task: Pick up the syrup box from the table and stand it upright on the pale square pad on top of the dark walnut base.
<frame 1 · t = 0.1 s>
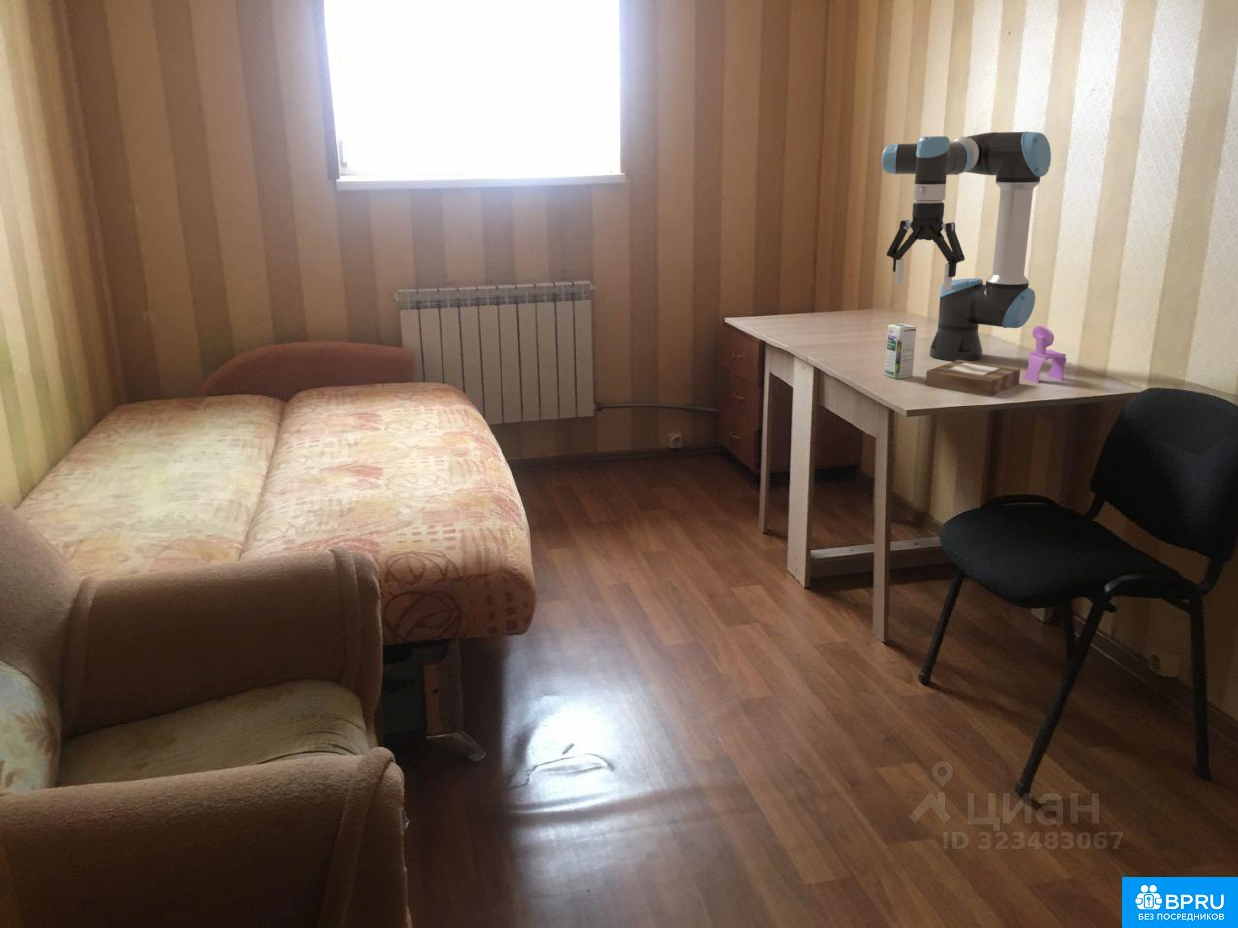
hand: (922, 287, 258), 28 cm above the table, tool pointing down, fingers open, 13 cm apart
walnut base: (972, 384, 275), on the table
syrup box: (898, 376, 286), on the table
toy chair: (1043, 380, 279), on the table
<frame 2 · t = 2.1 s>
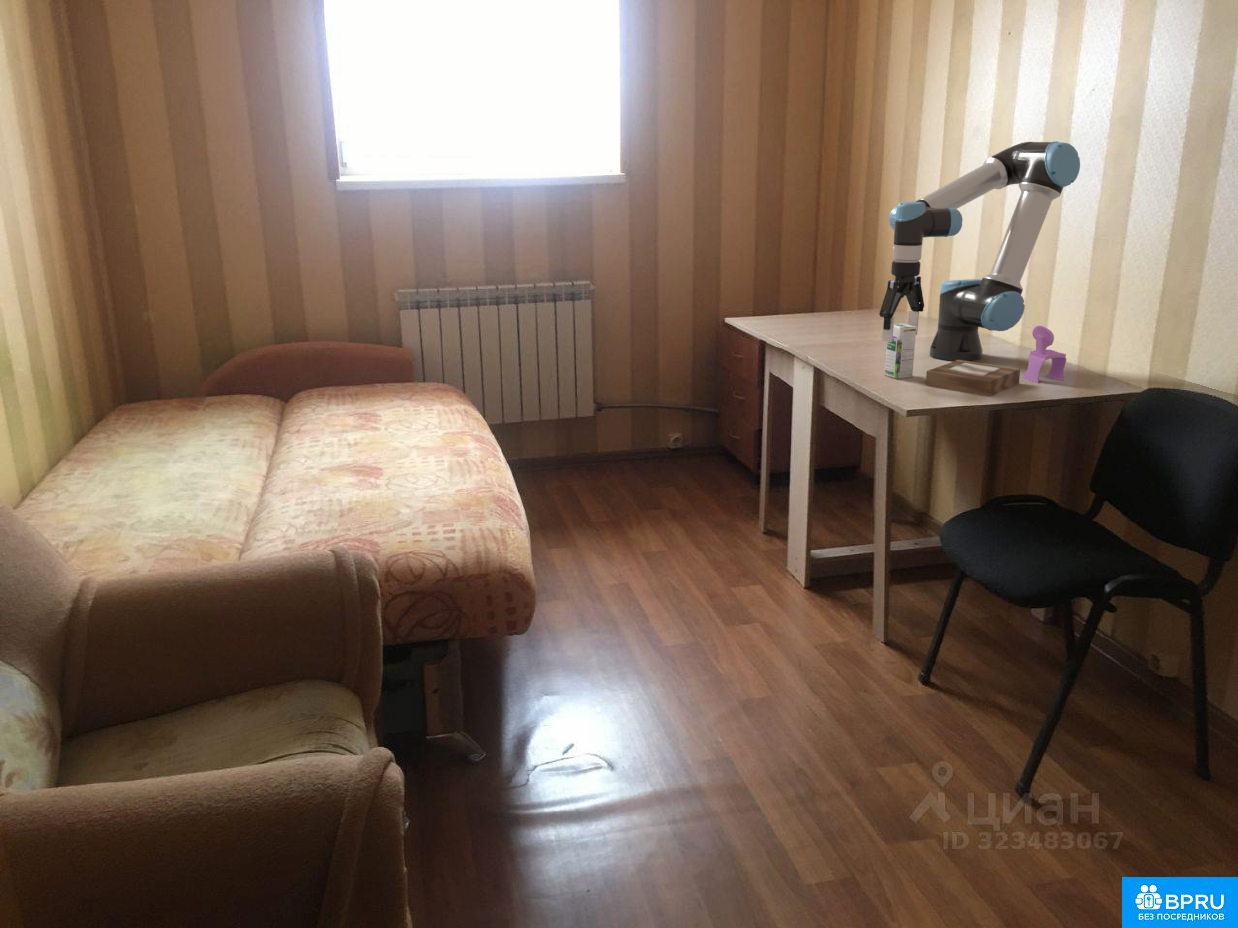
hand: (899, 338, 282), 11 cm above the table, tool pointing down, fingers open, 13 cm apart
nothing on the table moved.
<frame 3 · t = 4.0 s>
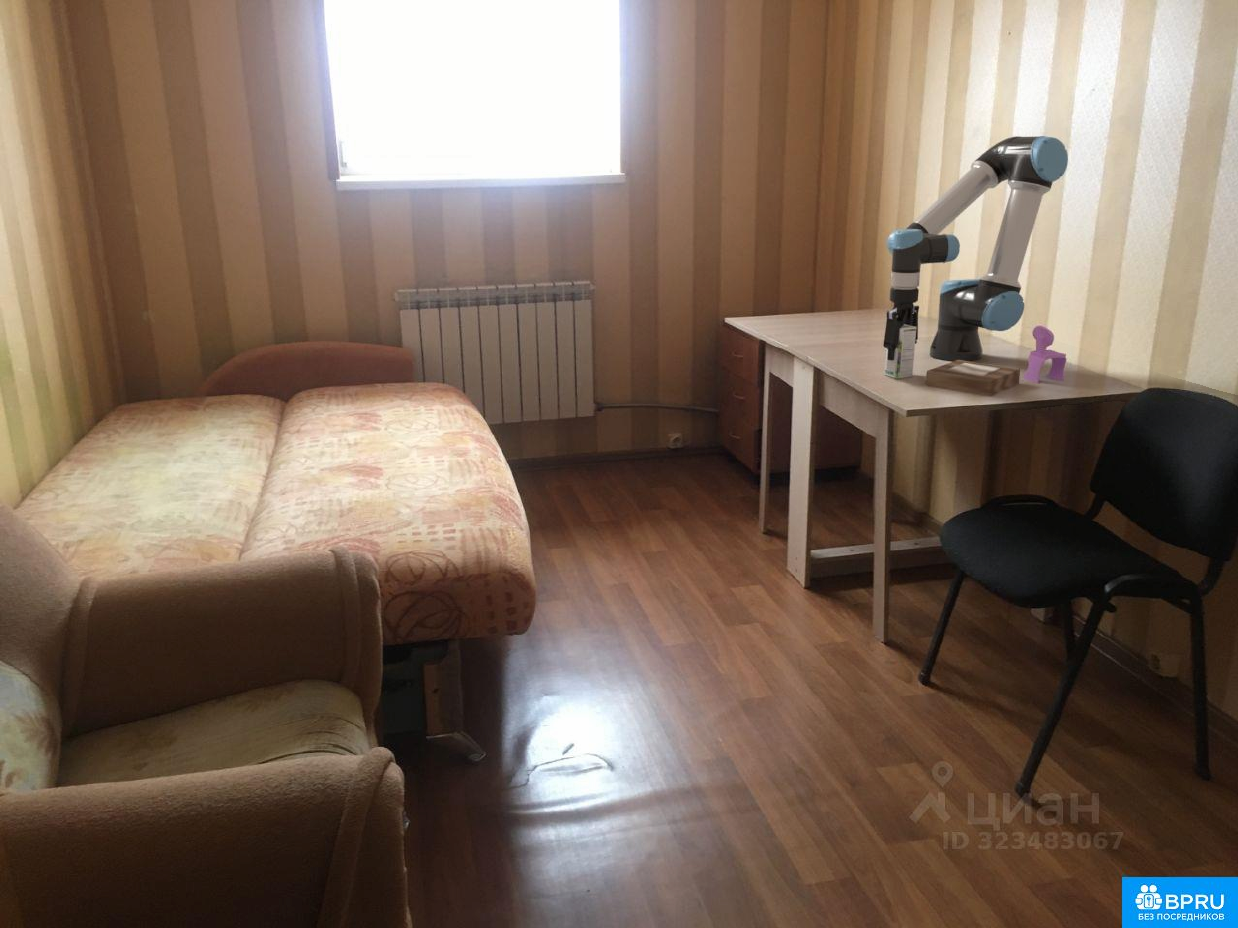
hand: (898, 368, 285), 2 cm above the table, tool pointing down, fingers closed on syrup box, 7 cm apart
syrup box: (898, 376, 286), on the table, touching gripper
everything else where it was.
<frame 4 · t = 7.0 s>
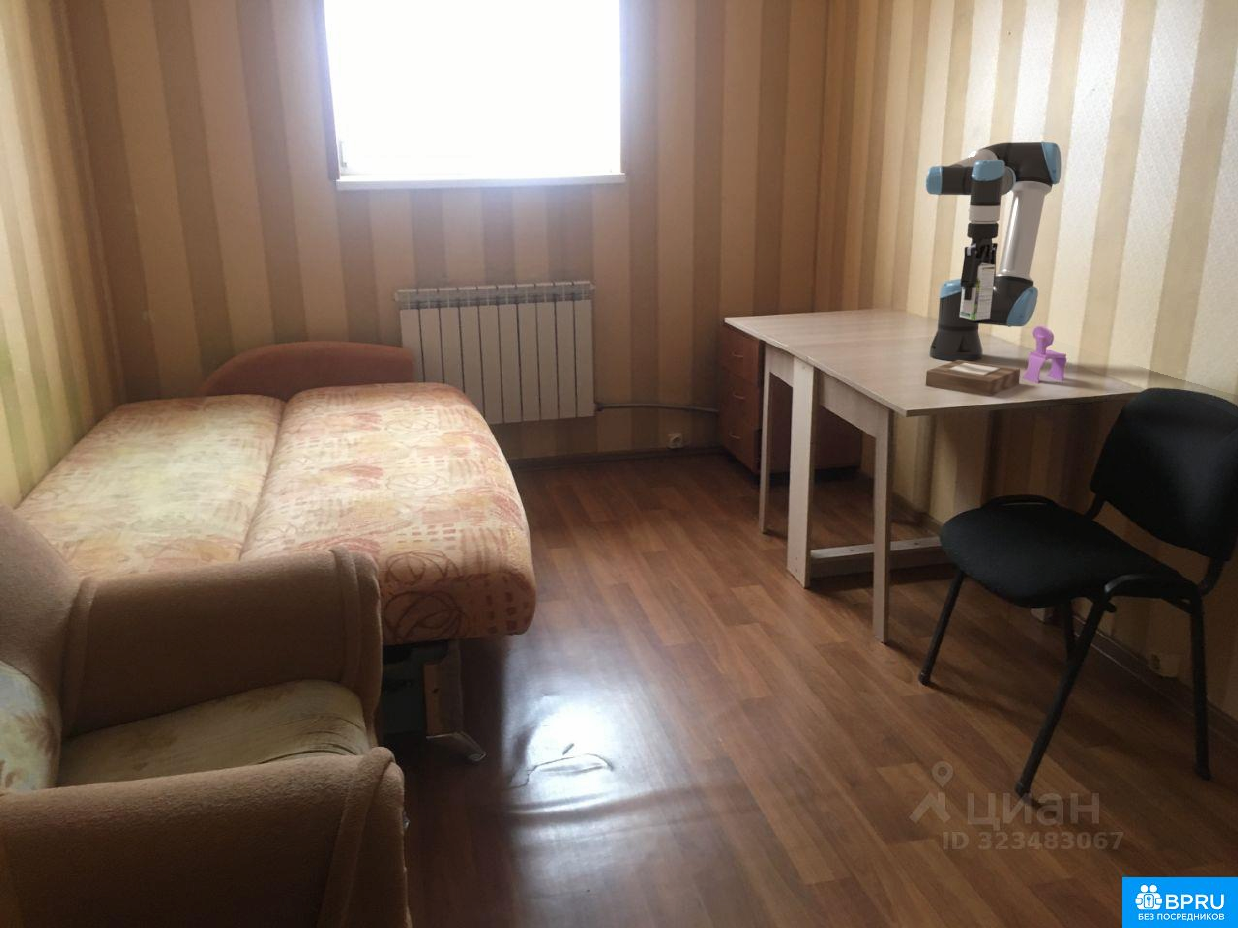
hand: (975, 310, 269), 20 cm above the table, tool pointing down, fingers closed on syrup box, 7 cm apart
syrup box: (974, 319, 270), point 18 cm above the table, touching gripper
everything else where it was.
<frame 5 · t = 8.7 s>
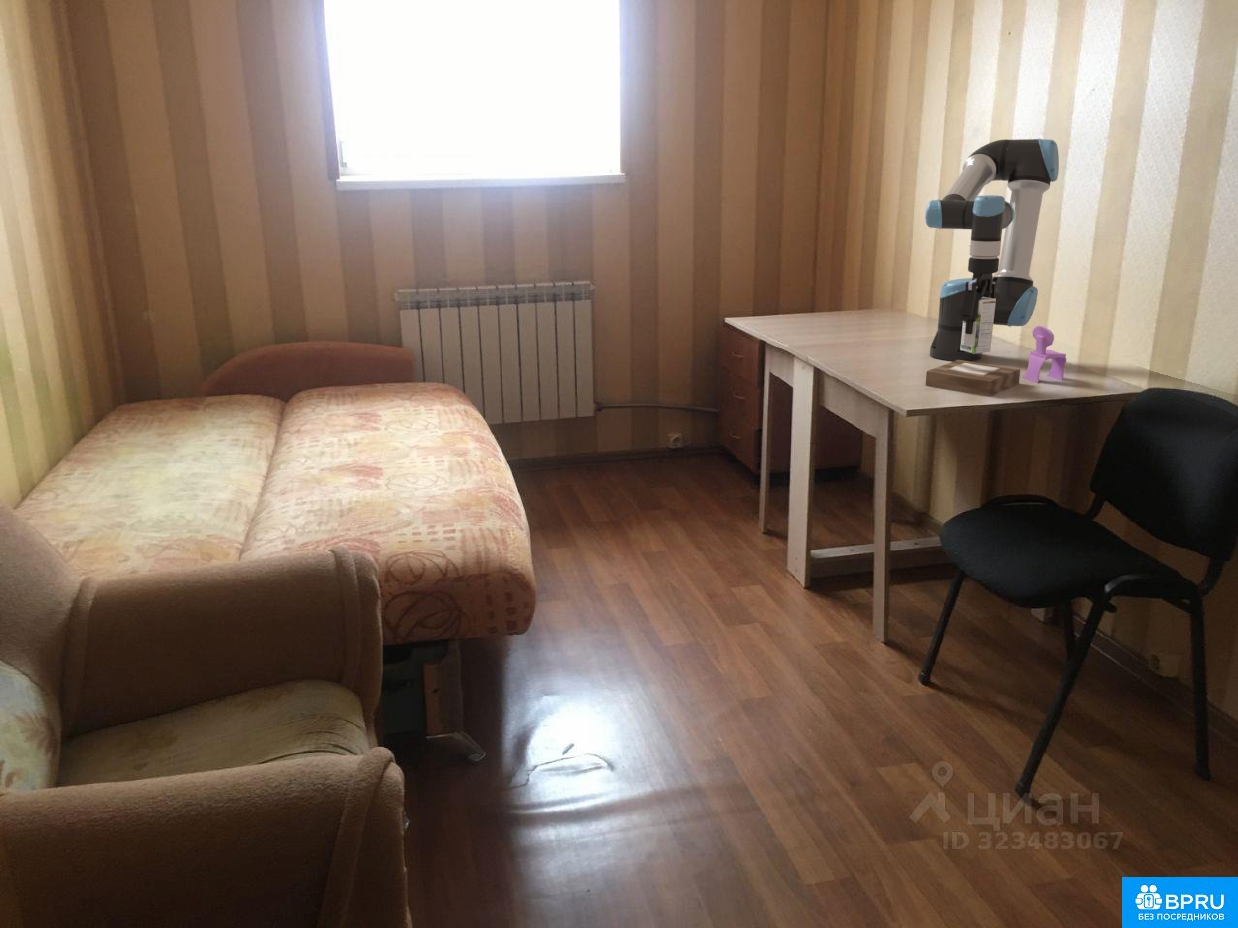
hand: (976, 343, 271), 11 cm above the table, tool pointing down, fingers closed on syrup box, 7 cm apart
syrup box: (975, 351, 272), point 9 cm above the table, touching gripper
everything else where it was.
when the fingers open (8 cm above the table, at t = 10.1 s): syrup box drops 1 cm, resting on walnut base.
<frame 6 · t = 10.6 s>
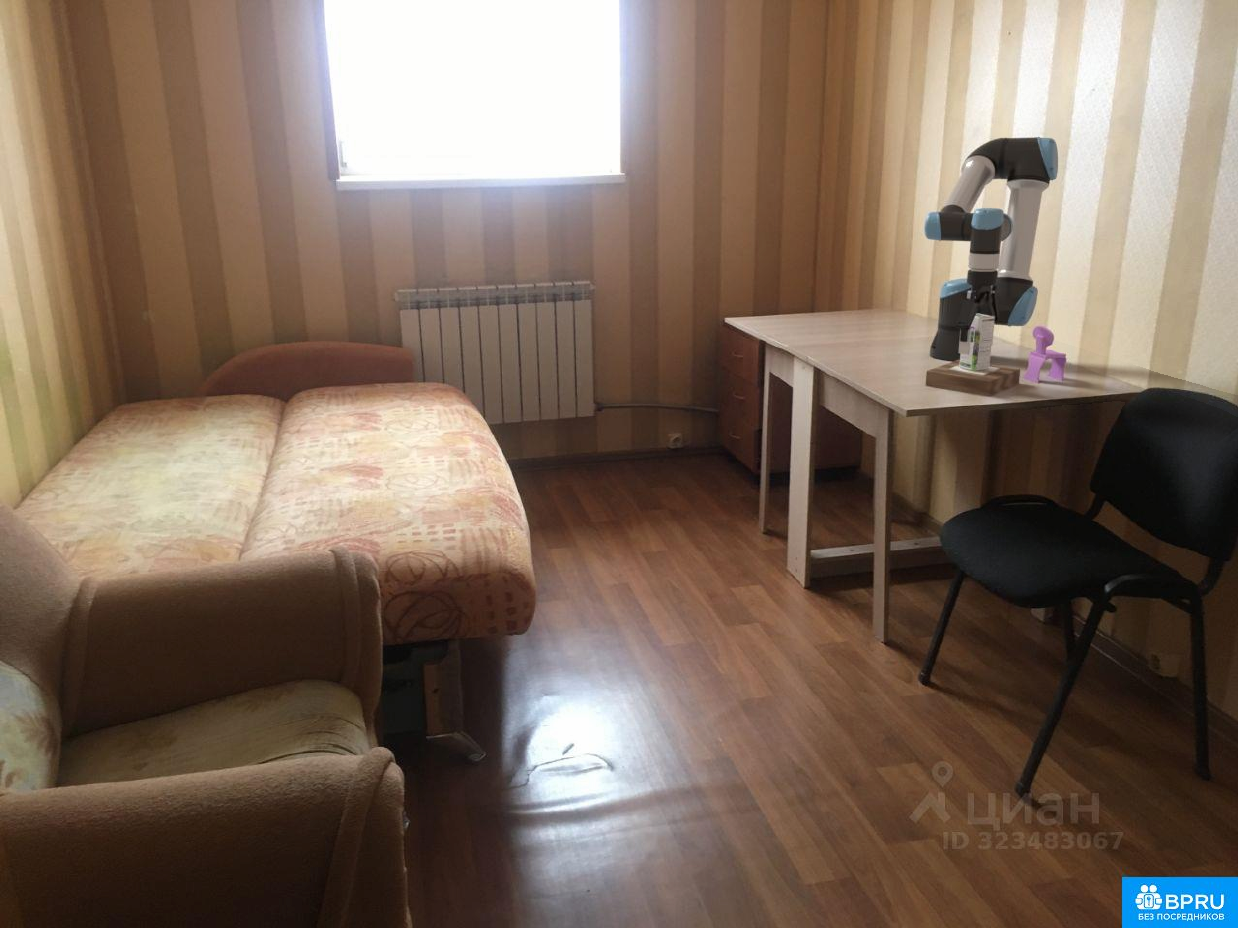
hand: (975, 349, 272), 10 cm above the table, tool pointing down, fingers open, 13 cm apart
syrup box: (974, 369, 274), point 4 cm above the table, touching walnut base
everything else where it was.
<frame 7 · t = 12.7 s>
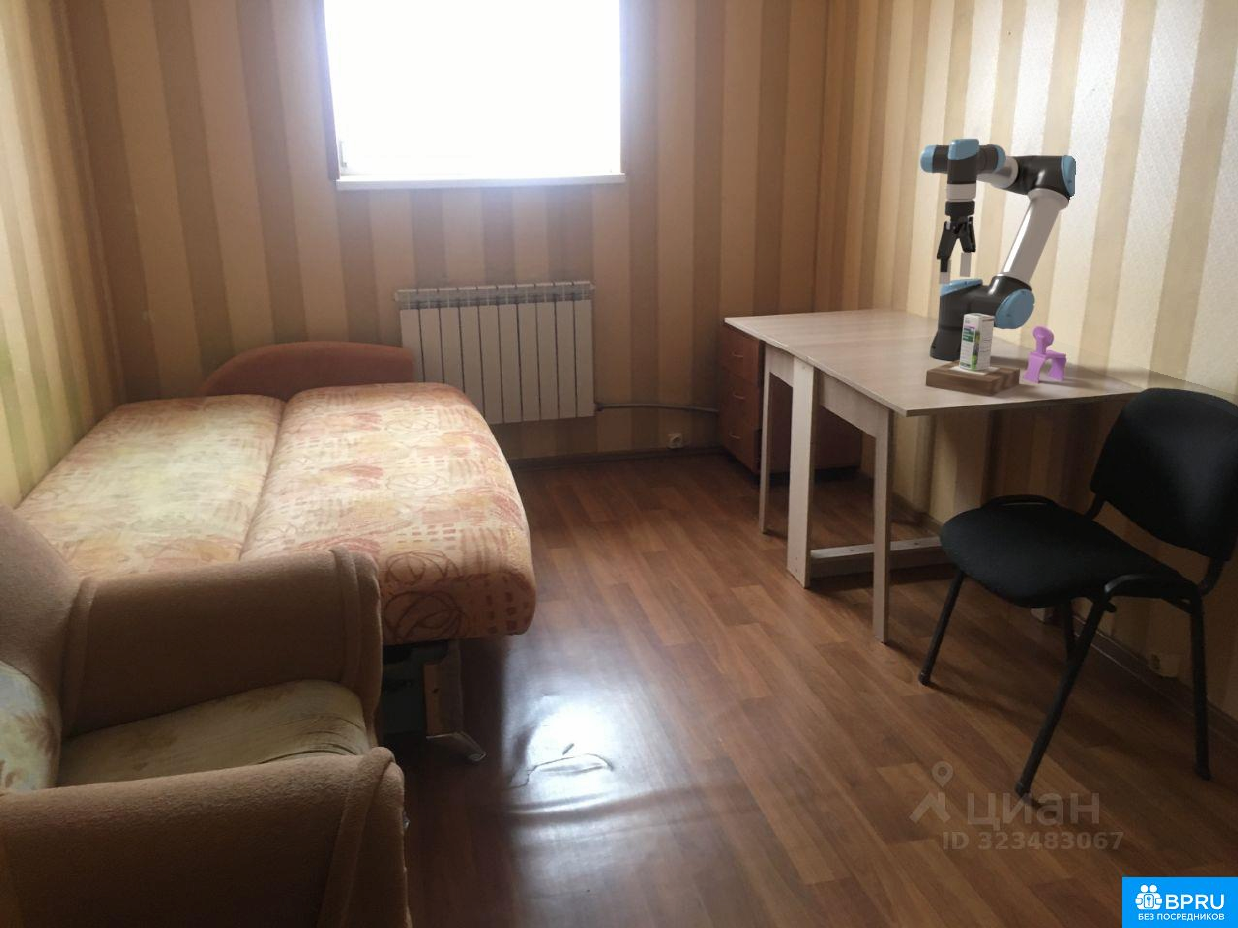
hand: (954, 280, 276), 27 cm above the table, tool pointing down, fingers open, 13 cm apart
nothing on the table moved.
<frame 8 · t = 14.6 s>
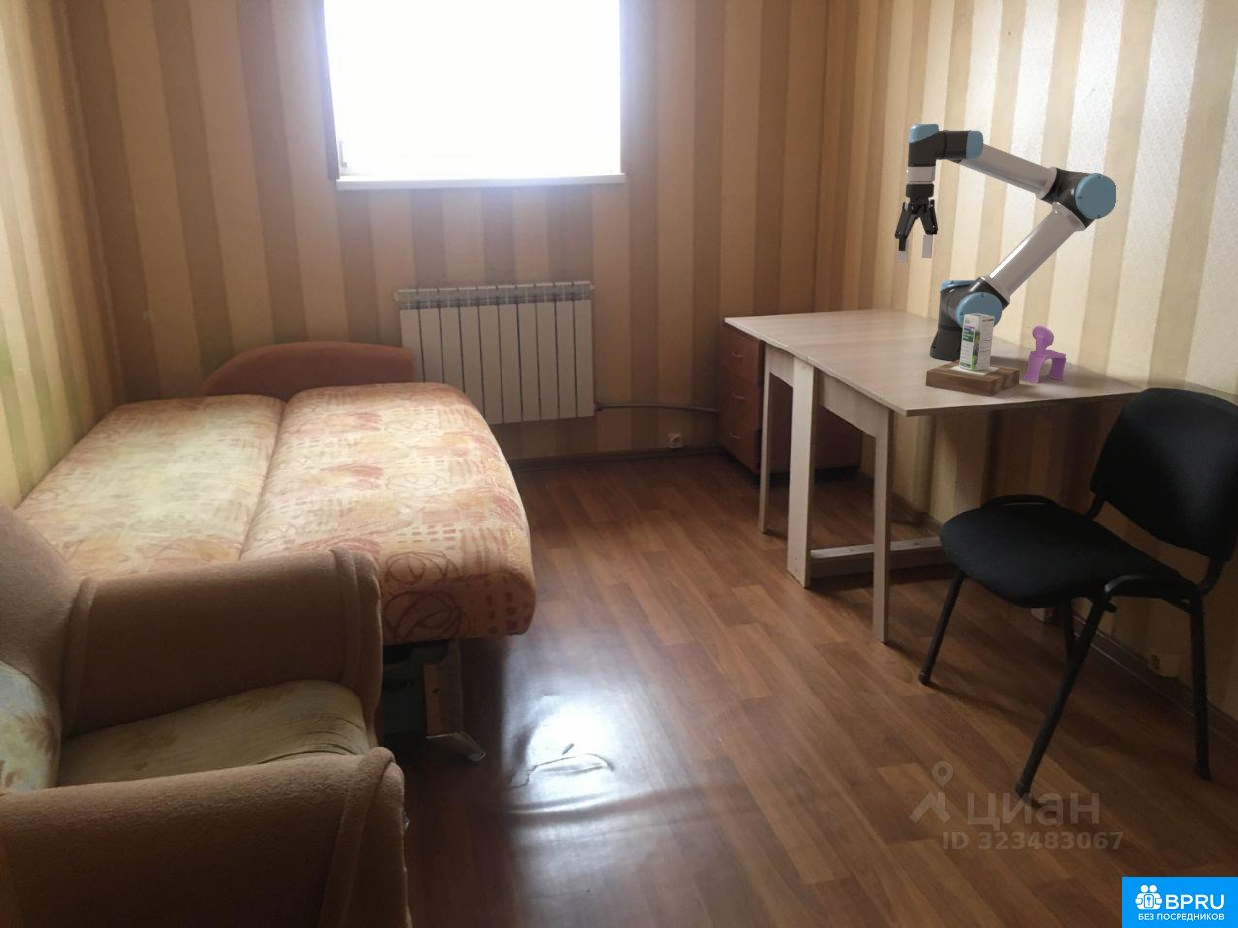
hand: (914, 260, 287), 31 cm above the table, tool pointing down, fingers open, 13 cm apart
nothing on the table moved.
at the end: syrup box inside the target area on the walnut base (0.3 cm from its centre), point 4.2 cm above the walnut base's base; syrup box tilted 0°; the gripper is holding nothing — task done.
